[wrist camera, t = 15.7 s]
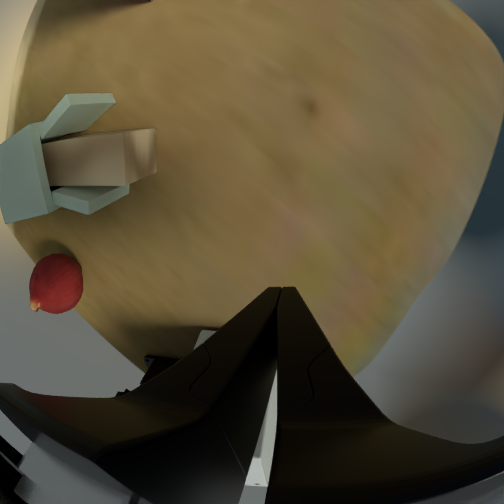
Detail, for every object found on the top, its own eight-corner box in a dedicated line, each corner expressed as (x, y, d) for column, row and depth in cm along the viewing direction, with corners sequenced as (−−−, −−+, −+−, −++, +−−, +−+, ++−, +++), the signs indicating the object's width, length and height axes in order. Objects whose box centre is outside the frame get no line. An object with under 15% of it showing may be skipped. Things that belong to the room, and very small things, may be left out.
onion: (60, 273, 28) (16, 311, 21) (60, 232, 25) (7, 268, 18) (96, 297, 28) (54, 342, 21) (99, 256, 25) (47, 300, 18)
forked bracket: (132, 193, 22) (84, 219, 16) (49, 210, 24) (8, 232, 19) (114, 92, 18) (61, 92, 13) (32, 132, 21) (-12, 144, 15)
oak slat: (157, 172, 21) (125, 186, 17) (58, 173, 22) (25, 186, 18) (157, 127, 19) (123, 132, 15) (55, 139, 21) (21, 148, 17)
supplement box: (279, 328, 25) (265, 459, 14) (281, 379, 28) (270, 489, 17) (199, 326, 26) (152, 442, 15) (213, 376, 29) (183, 477, 18)
